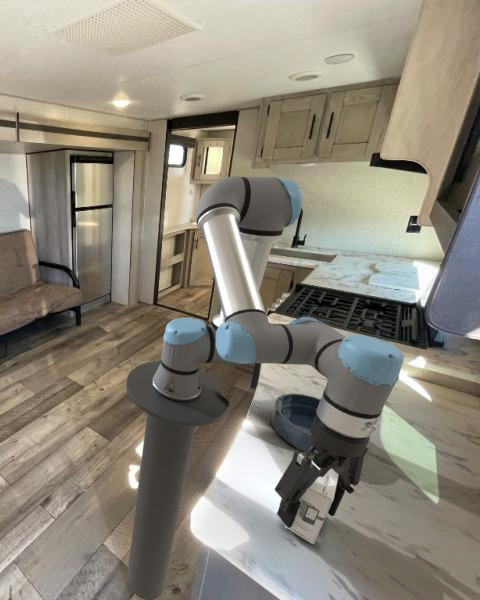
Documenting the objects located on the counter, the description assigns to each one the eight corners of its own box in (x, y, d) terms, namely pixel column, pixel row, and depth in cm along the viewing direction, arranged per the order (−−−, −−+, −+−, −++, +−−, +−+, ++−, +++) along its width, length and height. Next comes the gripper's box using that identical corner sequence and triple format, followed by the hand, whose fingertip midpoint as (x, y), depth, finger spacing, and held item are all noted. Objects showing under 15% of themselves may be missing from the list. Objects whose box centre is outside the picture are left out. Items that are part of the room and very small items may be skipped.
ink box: (293, 497, 68) (309, 455, 63) (321, 513, 65) (340, 470, 60) (283, 527, 62) (300, 483, 58) (314, 546, 59) (334, 501, 54)
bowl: (255, 415, 91) (260, 398, 89) (307, 406, 96) (312, 390, 93) (311, 468, 75) (319, 448, 73) (371, 455, 79) (380, 436, 77)
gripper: (308, 452, 49) (273, 548, 57) (416, 430, 54) (369, 521, 62) (270, 418, 55) (243, 508, 64) (369, 401, 60) (332, 486, 69)
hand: (305, 514), depth 63 cm, fingers closed on ink box, 9 cm apart
